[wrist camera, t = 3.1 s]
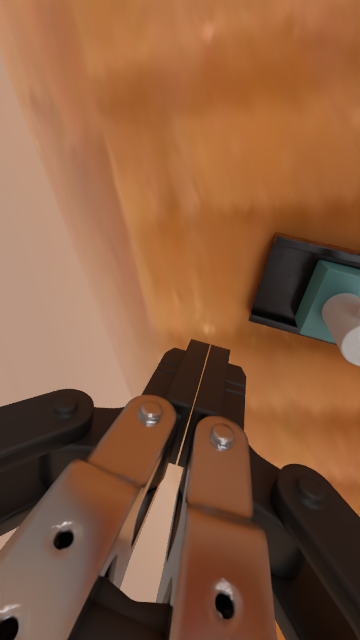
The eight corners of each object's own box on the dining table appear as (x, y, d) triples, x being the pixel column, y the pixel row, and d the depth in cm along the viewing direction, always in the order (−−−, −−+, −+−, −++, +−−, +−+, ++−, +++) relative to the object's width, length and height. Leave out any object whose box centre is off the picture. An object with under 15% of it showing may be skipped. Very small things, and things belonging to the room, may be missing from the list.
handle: (338, 210, 20) (386, 221, 12) (399, 224, 19) (485, 242, 12) (294, 317, 23) (311, 372, 16) (344, 331, 23) (384, 393, 16)
